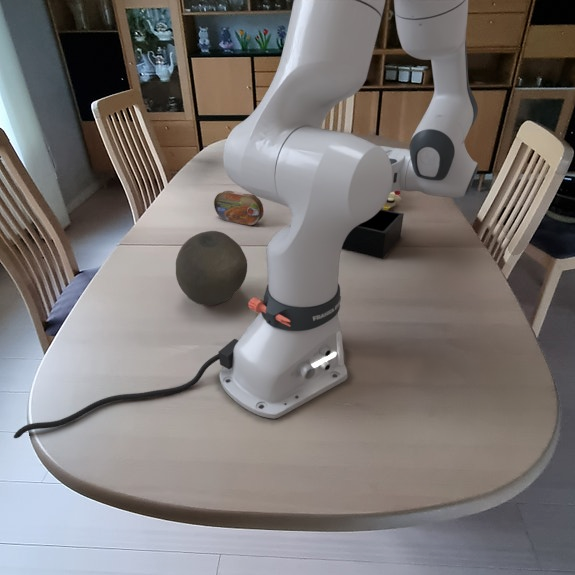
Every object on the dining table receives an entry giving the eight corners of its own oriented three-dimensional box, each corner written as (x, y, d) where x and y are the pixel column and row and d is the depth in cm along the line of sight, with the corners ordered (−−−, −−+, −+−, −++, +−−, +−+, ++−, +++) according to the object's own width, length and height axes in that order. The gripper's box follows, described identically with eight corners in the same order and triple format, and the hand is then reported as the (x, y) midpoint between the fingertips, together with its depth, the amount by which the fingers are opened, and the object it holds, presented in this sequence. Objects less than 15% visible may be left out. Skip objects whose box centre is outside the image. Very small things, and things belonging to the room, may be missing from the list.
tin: (215, 218, 128) (211, 190, 124) (221, 214, 131) (218, 186, 126) (260, 228, 122) (258, 199, 118) (265, 223, 125) (264, 195, 120)
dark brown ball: (184, 326, 87) (171, 259, 79) (179, 288, 98) (167, 225, 90) (255, 313, 90) (250, 247, 82) (242, 277, 101) (236, 216, 93)
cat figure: (362, 186, 150) (368, 210, 128) (364, 159, 146) (370, 180, 124) (392, 186, 149) (403, 210, 127) (395, 159, 145) (407, 180, 123)
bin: (400, 237, 116) (403, 213, 112) (382, 259, 107) (385, 233, 103) (345, 225, 123) (346, 202, 119) (324, 244, 114) (324, 219, 110)
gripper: (415, 143, 106) (361, 136, 112) (384, 168, 91) (324, 158, 98) (412, 169, 109) (360, 161, 116) (381, 197, 95) (323, 186, 101)
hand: (343, 160), depth 106 cm, fingers open, 8 cm apart
